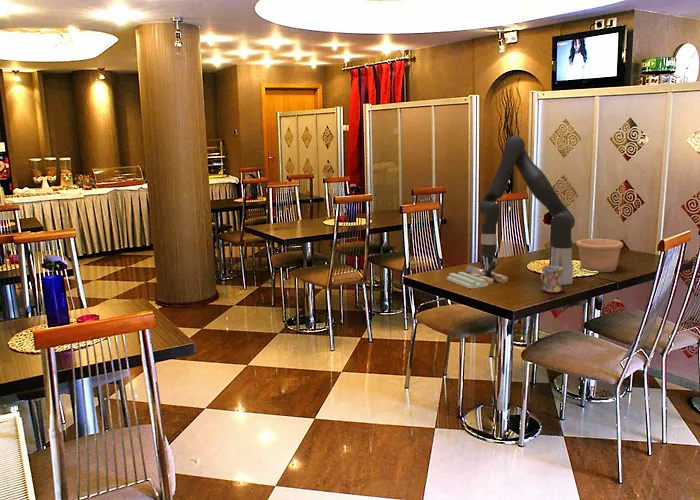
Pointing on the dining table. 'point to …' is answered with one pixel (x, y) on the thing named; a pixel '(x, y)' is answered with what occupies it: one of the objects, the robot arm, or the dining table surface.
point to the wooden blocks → (493, 277)
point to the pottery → (599, 254)
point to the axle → (475, 270)
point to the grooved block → (467, 280)
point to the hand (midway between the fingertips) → (488, 277)
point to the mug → (551, 278)
